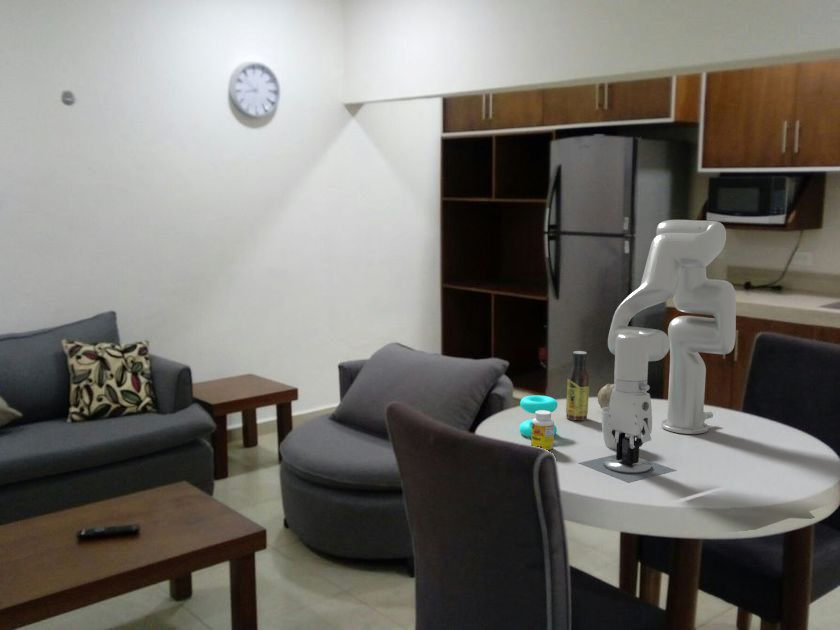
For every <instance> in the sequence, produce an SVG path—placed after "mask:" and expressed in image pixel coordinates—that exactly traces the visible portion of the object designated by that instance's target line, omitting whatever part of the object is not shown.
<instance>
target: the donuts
mask: <svg viewBox="0 0 840 630" xmlns="http://www.w3.org/2000/svg"><path fill="white" fill-rule="evenodd" d="M519 404H520V405H519V406H520V408H521V409H522V410H524V411H525V412H527V413H528V414H533V415H535V412H536V411H539V410H545V411H549V412H551V413H553V412H554V411H556V410H557V409H558V401H557V400H556V399H555V398H553V397H551V396H547V395H535V394H534V395H528V396H527V395H526V396H525V397H523V398H521V399H520V401H519ZM533 419H534V418H533ZM533 419H527V420H525V421H523V422H521V423H520V426H519V432H520V433H521V435H523V436H524V437H527V438H531V436H532V420H533ZM557 431H558V429H557V426H556V424H554V436H555V435H556V434H557Z"/></svg>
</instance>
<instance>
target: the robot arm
mask: <svg viewBox="0 0 840 630" xmlns="http://www.w3.org/2000/svg"><path fill="white" fill-rule="evenodd" d="M655 234H656V236H655V237H654V238H653V239H652V241H651V243H650V248H649V251H648V255H647V259H646V263H645V267H644V271H643V275H642V279H641V282H640V285H639V287H638V288H637V289H635V290H634V291H633V292H631V293H630V294H629V295H627V297H625V298H624V300H623V301H622V302H621V303H619V305H618V306H617V308H616V310H615V312H614V314H613V316H612V321H611V324H610V327H609V328H610V329H609V333H608V335H607V337H608V338H607V347H608V349H609V352H610V353H611V354H612V355H614V372H613V373H614V375H613V376H614V379H613V380H614V381H613V384H614V388H613V389H612V393H611V398H610V404H609V414H608V424H607V429H608V430H609V431H610V432H612V435H613V436H614V438H615V443H617V449H615V450H616V453H615V455H616V460H621V453H622V437H627V434H629V435H630V447H629V448H628V454H627V463H628V464H634V463H638V461H639V457H640V456H639V455H640V448H641V447H642V446H643V444H645V443H647V442H651V441H652V436H651V434H652V430H653V409H652V407H653V406H652V400H651V399H652V398H651V394H650V393H649V392H647V391H649V390H650V388H651V387H650V385H649V384H648V374H649V372H648V370H649V362H656V361H660V360H663V358H665V357H666V356H667V355H668V352H669V358H670V359H669V377H668V378H669V379H668V395H667V396H668V397H667V416H666V417H667V418H666V419H664V420H663V419H662V421H661V423H660V427H661V428H663V429H664V430H666V431H668V432H671V433H678V434H683V435H684V434H685V435H686V434H687V435H698V434H699V435H700V434H705V433H707V432H708V431H709V425H708V423H706V422H705V421H706V420H708V419H712V418H713V417H714V414H713V412H712V411H704V410H705V409H704V407H705V391H706V375H707V368H706V363H705V361H704V359H703V357H701V355H700V353H706V354H715V355H727V354H730V353H731V352H732V351H733V349H734V347H735V344H736V337H737V336H736V333H737V331H736V330H737V327H736V326H737V322H736V321H737V298H736V289H735V288H734V285H733V284H732V283H731V282H729V281H728V280H723V279H712V278H711V279H710V278H708V277H707V267H708V266H709V265H710V264H711V263H712V262H713V261H714V259H716V258H717V256H719V254H721V252H722V251H723V249H724V247H725V244H726V241H727V231H726V227H725V226H724V224H722V223H721V222H719V221H718V220H717V221H716V220H696V219H695V220H691V219H668V220H663V221H661V222H660V223H658V224H657V227H656V233H655ZM671 299H673V305H674V307H675V309H676V310H677V311H679V312H682V313H686V314H697V315H708V316H712V317H704V316H694V315H679V316H677V317H674V318H673V319H672V320H671V321H670V322H669V325H668V328H667V333H666V332H664V331H663V330H660V329H654V328H648V327H647V328H646V327H638V326H630V325H629V322H630V321H631V319H632V318H633V317H635V315H636V314H638V313H640V312H641V311H643V310H645V309H647V308H651V307H653V306H656V305H660V304H662V303H665V302H667V301H670V300H671ZM713 317H714V318H713ZM621 433H622V434H621Z"/></svg>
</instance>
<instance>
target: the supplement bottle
mask: <svg viewBox="0 0 840 630" xmlns="http://www.w3.org/2000/svg"><path fill="white" fill-rule="evenodd" d="M554 425H555V421H554V419H553V418H552V412H549V411H545V410H539V411H536V412H535V414H534V418H533V420H532V436H531V444H530V447H531V446H535V447H540V448H543V449H546V450H548V451H550V452H552V451H554V440H555V439H554V437H555V435H554ZM550 452H549V453H550Z"/></svg>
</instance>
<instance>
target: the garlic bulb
mask: <svg viewBox="0 0 840 630" xmlns="http://www.w3.org/2000/svg"><path fill="white" fill-rule="evenodd" d="M613 388H614V383H612V384H611V383H607V384H606V385H604V386H603V387H602V388H600V390H599V392H598V394H597V403H598V404H599V408H600V409H602V408H604V407H609V404H610V398H611V393H612V389H613Z"/></svg>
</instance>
